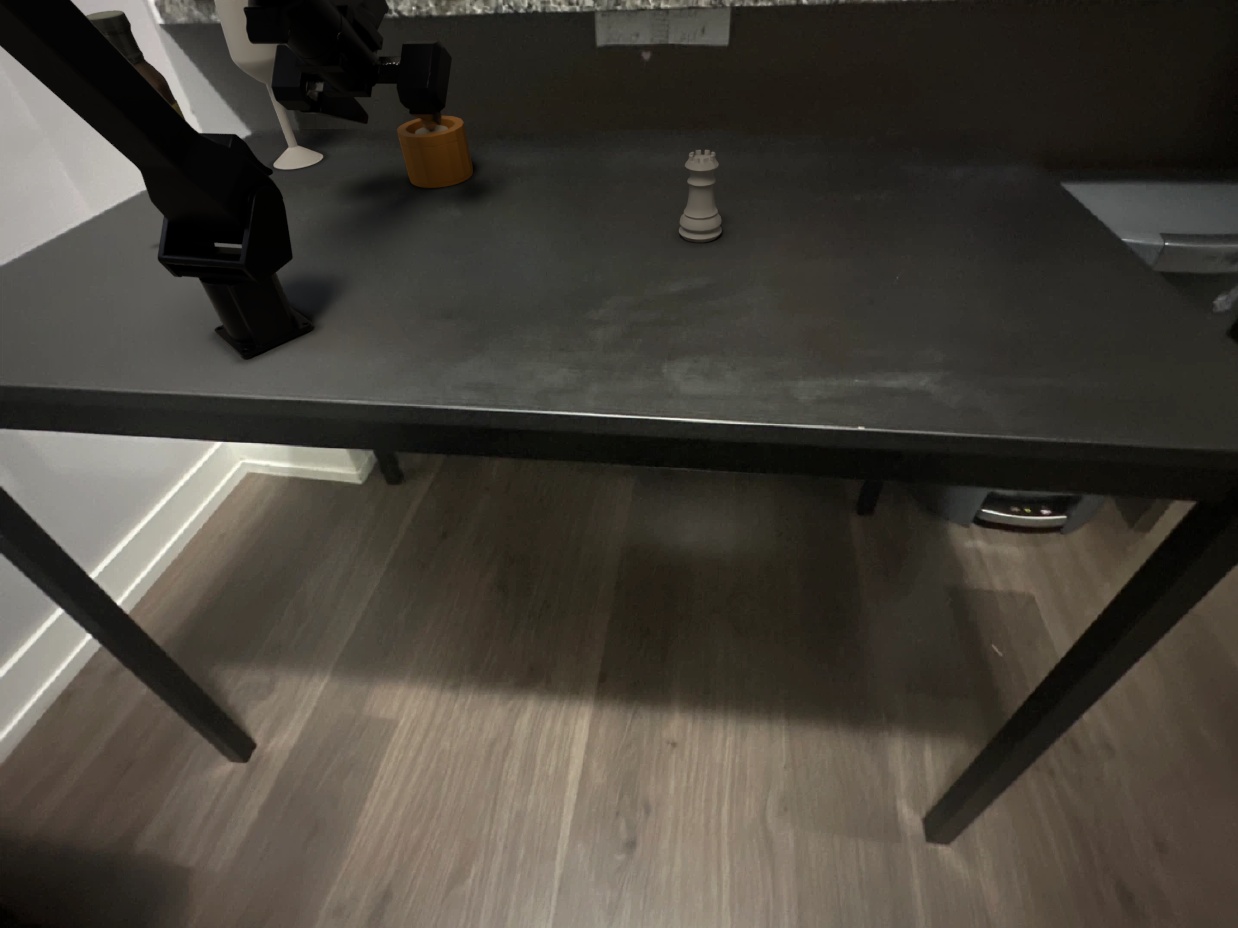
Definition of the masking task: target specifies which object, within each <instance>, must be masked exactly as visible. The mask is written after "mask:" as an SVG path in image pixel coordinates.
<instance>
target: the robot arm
mask: <svg viewBox="0 0 1238 928" xmlns="http://www.w3.org/2000/svg"><path fill="white" fill-rule="evenodd" d="M389 10H390V7H389V4H388V2H387V0H248V7H244V13H245V16H246V32H247V35H248V39H249V41H250V42H251V43H252V44H278V45H277V48H276V53H275V60H274V67H273V74H272V81H271V90H272V93H273V96H274V98H275V100H276V101H277V102H278V103H280V104H281V105H282V106H283V107H284V109H285V110H287V111H299V112H300V113H302V114H311V115H314V116H315V115H316V116H321V117H326V118H333V119H336V120H337V119H338V120H343V121H347V122H353V123H357V124H363V125H367V124H369V114H368V112H367V111H366V110H365V108H364V107H363V106H362V105H361V103H360V102H359V101H358V100H357V99H356V98H372V92H373V88H374V87H375V86H376V85H396V87H395V88H396V91H397V95H398V99H399V102H400V103H401V105H402V106H403V107H404V108H405V109H408V110H409V112H408V114H409V115H411V116H413V117H416V118H417V119H418V118H420V119H423V120H425V121H427V122H429V123H432V124H435V125H441V118H442V116H443V115H442V111H443V110H444V109H445V108H446V104H447V97H448V91H449V90H448V89H449V82H450V77H451V75H450V74H451V69H452V68H451V67H452V60H453V57H452V56H451V54H450V52H449V51H448V50H447V49H446V47H445V45H443V43H442V42H441V41H440V40H435V39H434V40H407V41H405V42H403V43H402V45H401V51H400V55H399V56H398V55H397V56H395V55H394V56H393V55H392V56H389V55H388V56H387V55H386V56H383V55H382V56H381V55H380V56H379V55H378V51H382V50H383V44H384V36H383V35H382V34H381V33H380V32H379V31H378V30H379V28H380V27H381V24H382V22H383V20H384V18H385V16H386V15H387V14H388V13H389ZM86 16H87V15H86V14H85V13H84V12H83V11H82V10H81V9H80V8H79V7H78V6H77V5H76V4H75V3H74V2H73V1H72V0H0V47H1V48H2V49H3V50H4V51H5V52H6V53H8V55H10V56H11V57H12V58H13V59H14V60H15V61H17V63H19V64H20V65H21V66H22V67H23V68H24V69H26V70H27V72H29V73H30V74H31V75H32V76H34V78H36V79H37V80H38V81H39V82H40V83H41V84H42V85H44V87H46V88H47V89H48V90H49V91H50V92H51V93H53V94H54V95H55V96H56V97H57V98H58V99H59V100H61V101H62V102H63V103H64V104H65V105H66V106H67V107H68V108H70V109H71V110H72V111H73V112H74V113H75V114H76V115H77V116H79V117H80V118H81V119H82V120H83V121H84V122H86V123H87V124H88V125H89V126H90V127H91V128H92V129H93V130H95V132H97V133H98V134H99V135H100V136H101V137H102V138H103V139H104V140H106V141H107V142H108V143H109V144H111V146H113V148H115V149H116V150H117V151H118V152H119V153H120V154H121V155H123V156H124V157H125V158H126V159H127V160H128V161H129V162H131V163H132V164H133V165H134V166H135V167H136V168H137V169H138V171H139V172H140V175H141V177H142V180H143V183H144V186H145V189H146V192H147V195H148V198H149V200H150V201H151V203H152V204H153V205H154V207H155V208H156V209H157V210H158V212H160V213H161V214H162V216H163V219H162V226H161V231H160V237H159V244H158V250H157V251H158V252H157V261H158V262H159V264H161V266H163V268H165V269H166V271H168V273H170V274H171V275H172V276H173V277H174V278H182V277H185V278H186V277H187V278H197V279H198V280H199V282H200V284H201V286H202V288H203V290H204V291H205V294H206V295H207V297H208V299H209V302H210V303H211V305H212V308H213V309H214V310H215V313H216V315H217V316H218V319H219V320H220V322H221V324H220V325H218V326H216V327H215V328H214V329H213V330H214V332H215V334H216V336H218V337H219V338H220V339H221V341H223V342H224V343H225V344H226V345H228V346H229V348H230V349H231V350H233V351H234V352H235V353H236V354H237V355H239V356H240V357H241V358H243V359H248V358H250V357H253V356H254V355H257V354H259V353H262V352H264V351H266V350H268V349H271V348H272V347H273V348H274V347H275V346H277V345H279V344H281V343H283V342H286V341H288V340H291V339H293V338H295V337H297V336H299V335H301V334H304V333H306V332H309V331H311V330H312V329H313V328H314V326H313V324H312V322H311V320H309V319H308V318H306V317H305V316H304V315H302V314H301V313H300V312H298V311H297V310H296V309H294V308H293V307H292V306H291V304H290V302H289V299H288V296H287V294H286V292H285V290H284V287H283V286H282V283H281V280H280V279H279V276H278V274H277V273H278V271H279V270H281V269H282V268H283V267H285V266H286V265H287V264H288V263H290V262H291V261H292V260H293V258H294V254H293V249H292V242H291V234H290V230H289V229H290V228H289V223H288V222H289V221H288V216H287V210H286V205H285V202H284V196H283V193H282V192H281V190H280V188H279V187H278V185H277V183H276V182H275V181H274V180H273V178H271V177H270V176H272V175H274V169H272V168H271V167H268V166H266V165H265V164H263V163H262V162H261V161H260V160H259V159H258V158H257V156H256V155H255V154H254V152H253V150H252V149H251V147H250V146H249V145H248V143H247V142H246V141H245V140H243V138H241V137H240V136H239V135H238V134H236V133H219V132H218V133H214V132H199V131H198V130H196V129H194V127H193V126H192V125H191V124H190V123H189V122H188V121H187V119H186V118H185V117H184V118H185V119H184V118H183V117H182V116H181V115H180V114H179V113H178V112H177V111H176V110H175V109H174V108H173V107H172V106H171V105H170V104H169V102H168V101H167V100H166V99H165V98H164V97H163V96H162V95H161V94H160V93H159V92H158V91H157V90H156V89H155V88H154V87H153V86H152V85H151V84H150V83H149V82H148V80H147V79H146V78H145V77H144V76H143V75H142V74H141V73H140V72H139V71H138V70H137V69H136V68H135V67H134V66H133V65H132V64H131V63H130V62H129V61H128V60H127V59H126V57H125V56H124V55H123V54H122V53H121V52H120V51H119V50H118V49H117V48H116V47H115V46H114V45H113V44H112V43H111V42H110V41H109V40H108V39H107V38H106V37H105V35H104V34H103V33H102V32H101V31H100V30H99V29H98V28H97V27H96V26H95V25H94V24H93V23H92V22H91V21H90V20H89V19H88V18H87V17H86ZM216 244H223V245H224V244H226V245H238V246H241V247H233V246H232V247H231V246H217V245H216Z"/></svg>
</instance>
